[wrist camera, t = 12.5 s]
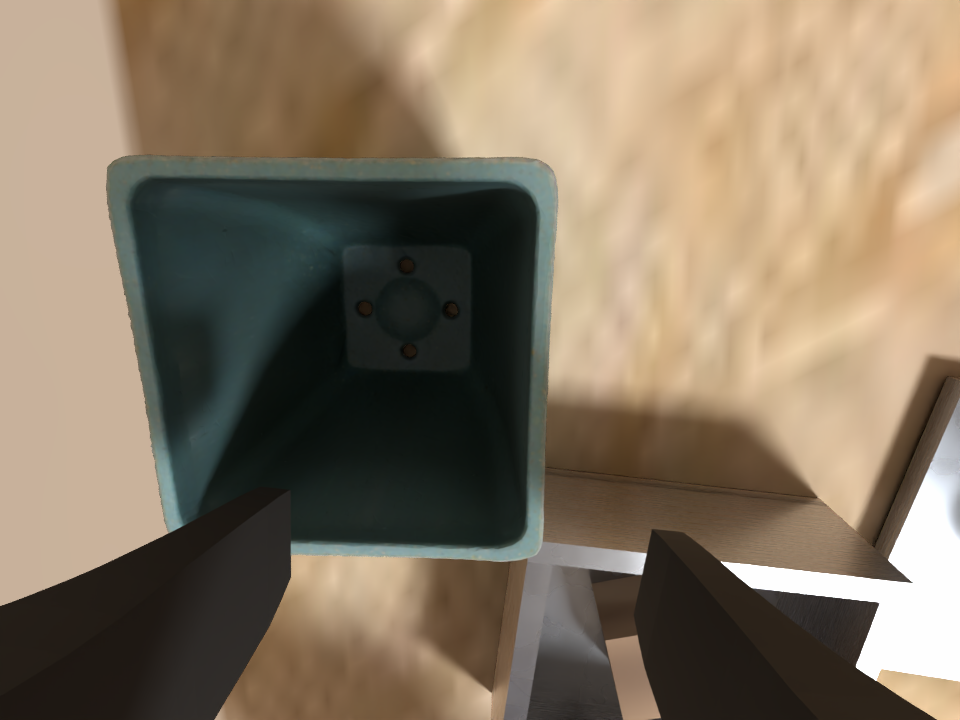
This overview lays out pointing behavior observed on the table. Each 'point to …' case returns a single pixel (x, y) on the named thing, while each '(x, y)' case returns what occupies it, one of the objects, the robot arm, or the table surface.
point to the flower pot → (346, 343)
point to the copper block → (625, 646)
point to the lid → (929, 547)
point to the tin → (622, 552)
